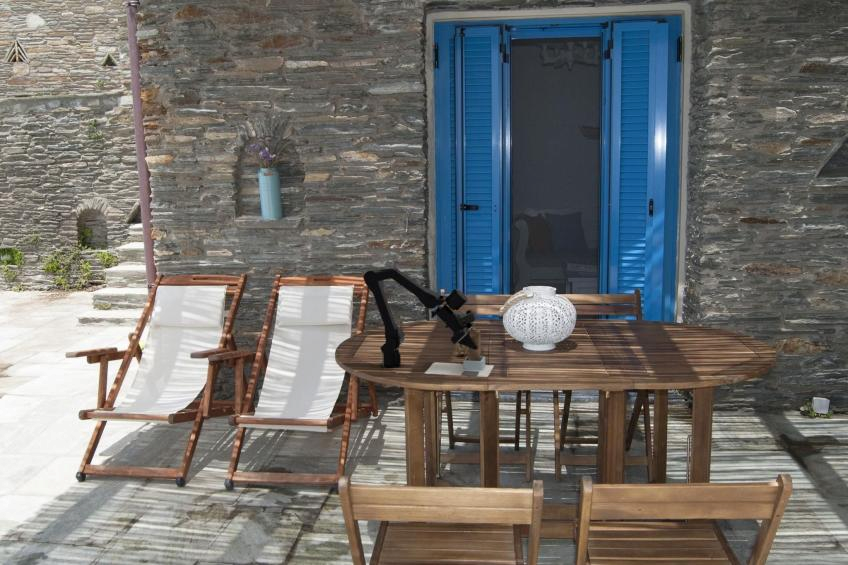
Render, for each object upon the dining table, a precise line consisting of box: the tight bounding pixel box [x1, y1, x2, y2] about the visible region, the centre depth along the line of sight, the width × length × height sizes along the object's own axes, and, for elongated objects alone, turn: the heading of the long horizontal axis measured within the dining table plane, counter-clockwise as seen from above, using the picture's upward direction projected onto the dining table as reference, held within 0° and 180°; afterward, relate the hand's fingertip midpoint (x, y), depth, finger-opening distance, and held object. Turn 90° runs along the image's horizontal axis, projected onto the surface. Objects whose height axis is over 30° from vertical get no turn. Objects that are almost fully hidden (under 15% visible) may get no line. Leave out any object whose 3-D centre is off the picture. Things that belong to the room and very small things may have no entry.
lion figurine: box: [455, 340, 468, 357], centre depth 322 cm, size 15×5×9 cm, turn 152°
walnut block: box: [467, 328, 481, 361], centre depth 301 cm, size 4×4×13 cm
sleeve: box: [462, 355, 486, 371], centre depth 302 cm, size 7×7×4 cm
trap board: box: [424, 361, 495, 378], centre depth 300 cm, size 24×16×1 cm, turn 76°
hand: (477, 347), depth 300 cm, fingers closed on walnut block, 4 cm apart
